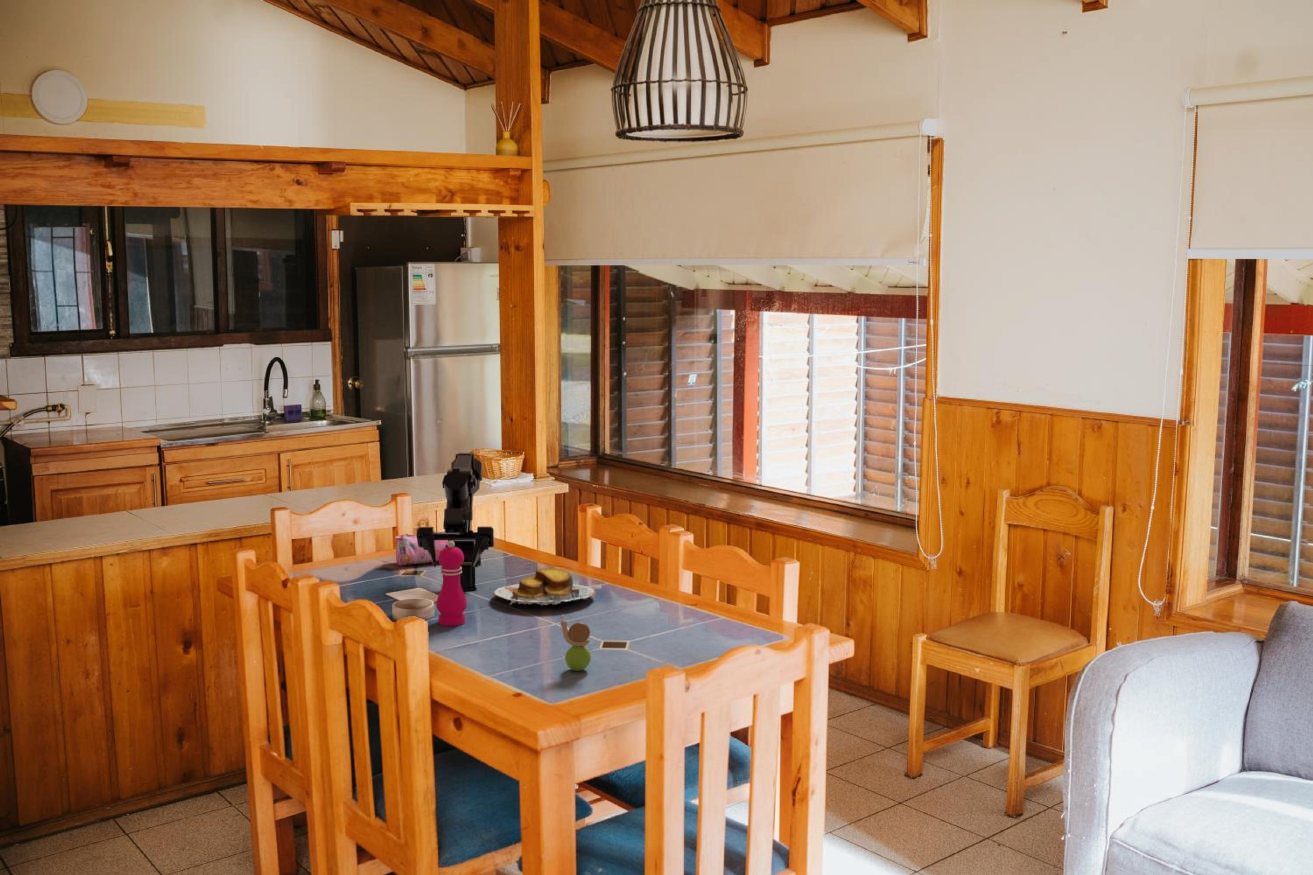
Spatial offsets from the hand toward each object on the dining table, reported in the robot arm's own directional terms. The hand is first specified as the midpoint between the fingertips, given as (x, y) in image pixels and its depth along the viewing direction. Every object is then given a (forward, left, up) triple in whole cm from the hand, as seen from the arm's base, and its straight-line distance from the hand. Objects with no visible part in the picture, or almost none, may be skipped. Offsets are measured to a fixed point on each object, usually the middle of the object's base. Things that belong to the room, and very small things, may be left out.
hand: (453, 566), depth 286 cm
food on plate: (-24, -7, -13) cm, 28 cm away
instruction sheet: (+7, -19, -12) cm, 24 cm away
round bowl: (+10, -2, -12) cm, 16 cm away
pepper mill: (+2, +6, -12) cm, 14 cm away
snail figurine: (-17, +48, -12) cm, 53 cm away
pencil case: (-3, -56, -13) cm, 58 cm away
